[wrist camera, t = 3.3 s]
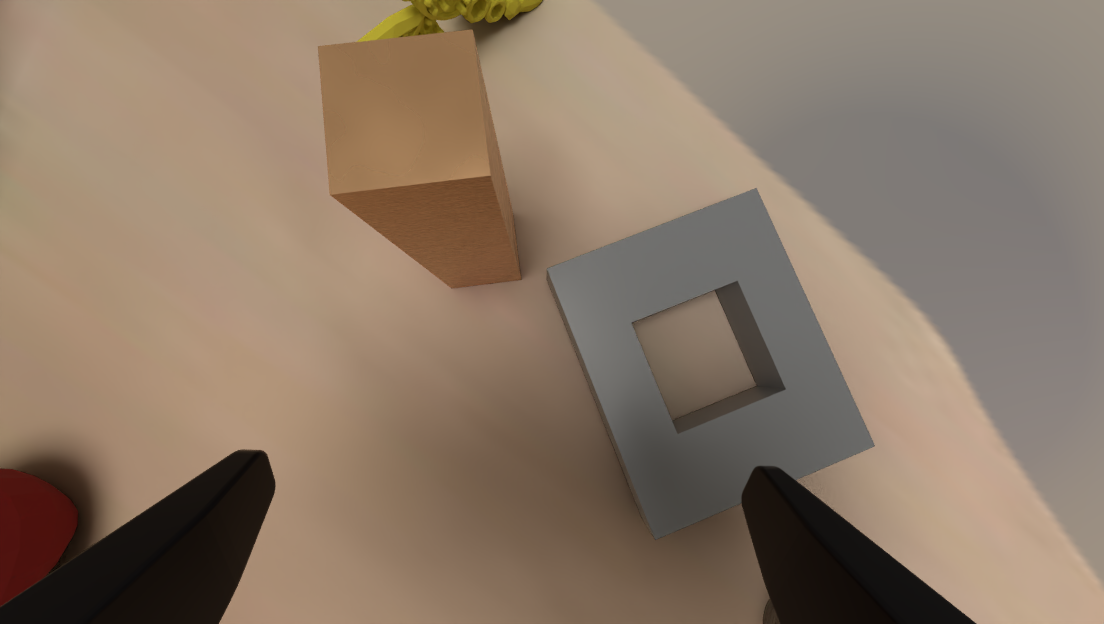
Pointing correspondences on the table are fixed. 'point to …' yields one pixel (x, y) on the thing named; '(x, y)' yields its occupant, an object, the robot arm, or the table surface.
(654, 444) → the socket plate
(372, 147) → the square bit
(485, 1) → the decorative insect
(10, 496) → the toy
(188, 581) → the robot arm
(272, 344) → the table surface
